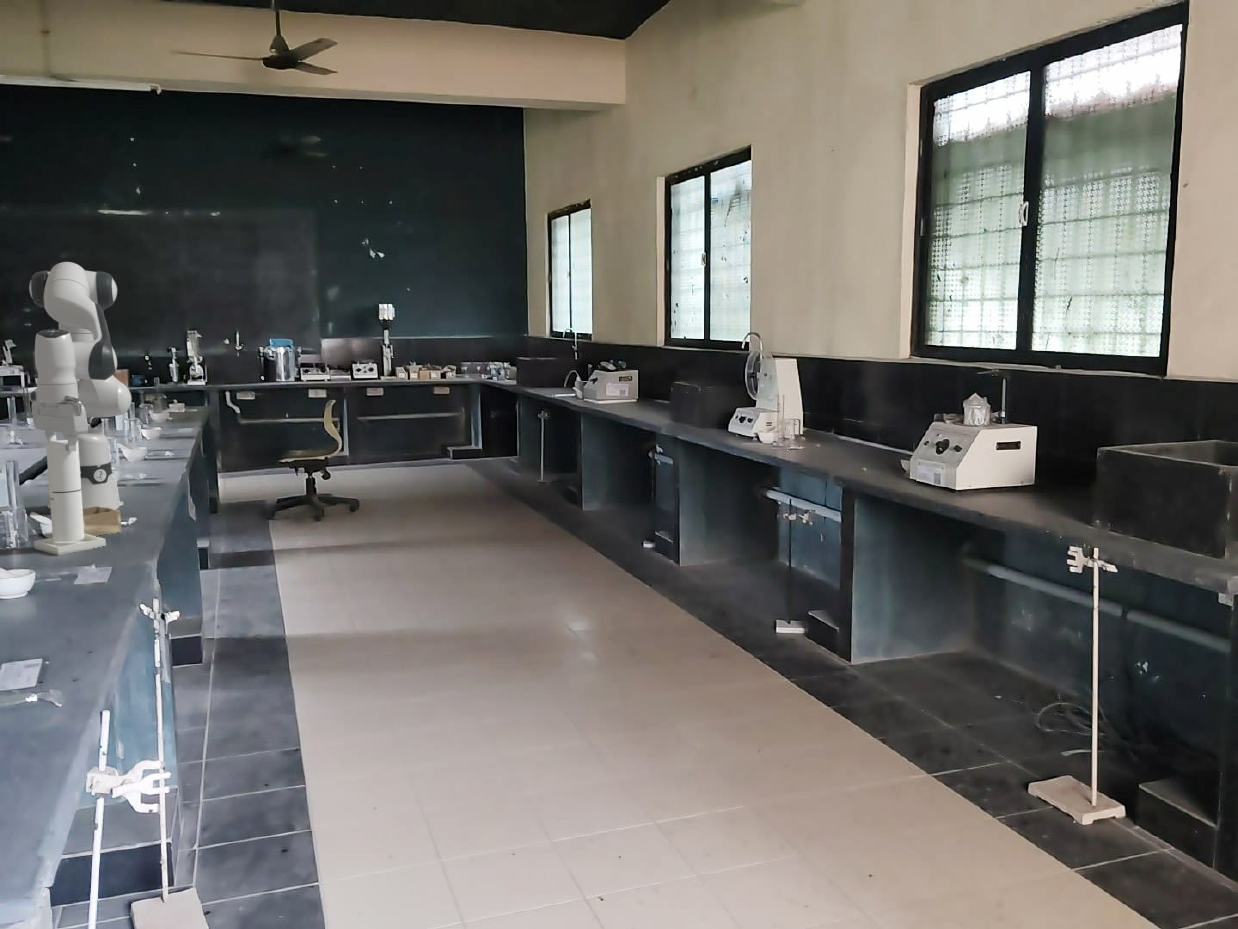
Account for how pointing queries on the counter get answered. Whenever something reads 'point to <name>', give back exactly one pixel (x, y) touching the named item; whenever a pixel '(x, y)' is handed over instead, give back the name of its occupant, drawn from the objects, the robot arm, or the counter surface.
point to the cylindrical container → (65, 492)
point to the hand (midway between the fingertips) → (62, 449)
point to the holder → (101, 520)
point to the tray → (69, 545)
